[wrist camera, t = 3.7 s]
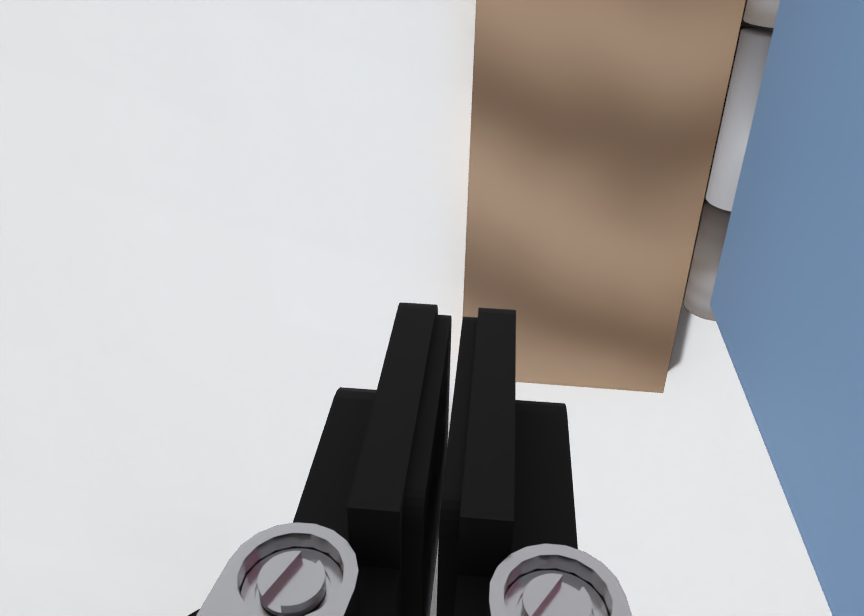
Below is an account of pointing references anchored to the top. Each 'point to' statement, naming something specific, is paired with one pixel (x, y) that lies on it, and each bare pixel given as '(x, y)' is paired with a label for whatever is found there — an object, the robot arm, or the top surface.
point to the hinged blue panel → (801, 269)
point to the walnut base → (597, 178)
